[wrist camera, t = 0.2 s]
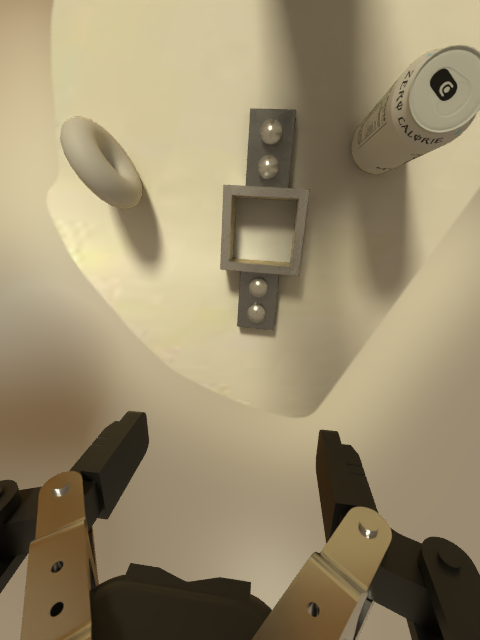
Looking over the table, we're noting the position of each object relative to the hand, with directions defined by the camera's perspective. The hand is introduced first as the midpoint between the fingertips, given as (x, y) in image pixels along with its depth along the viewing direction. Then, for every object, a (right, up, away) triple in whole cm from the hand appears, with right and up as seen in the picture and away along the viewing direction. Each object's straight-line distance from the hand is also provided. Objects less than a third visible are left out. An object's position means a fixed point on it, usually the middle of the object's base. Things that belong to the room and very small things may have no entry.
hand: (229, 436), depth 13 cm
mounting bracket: (+4, +17, +24) cm, 30 cm away
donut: (-14, +24, +24) cm, 37 cm away
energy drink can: (+16, +25, +20) cm, 36 cm away
